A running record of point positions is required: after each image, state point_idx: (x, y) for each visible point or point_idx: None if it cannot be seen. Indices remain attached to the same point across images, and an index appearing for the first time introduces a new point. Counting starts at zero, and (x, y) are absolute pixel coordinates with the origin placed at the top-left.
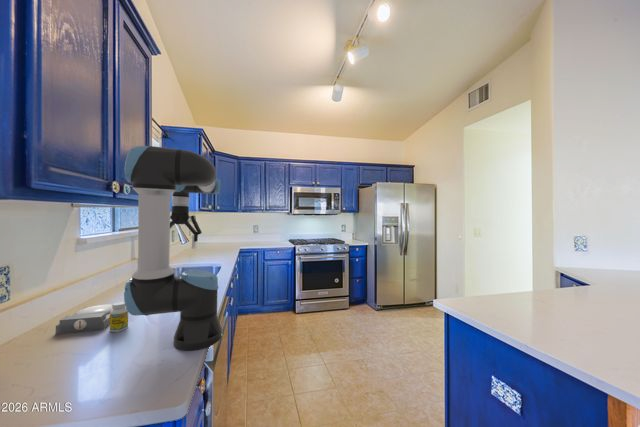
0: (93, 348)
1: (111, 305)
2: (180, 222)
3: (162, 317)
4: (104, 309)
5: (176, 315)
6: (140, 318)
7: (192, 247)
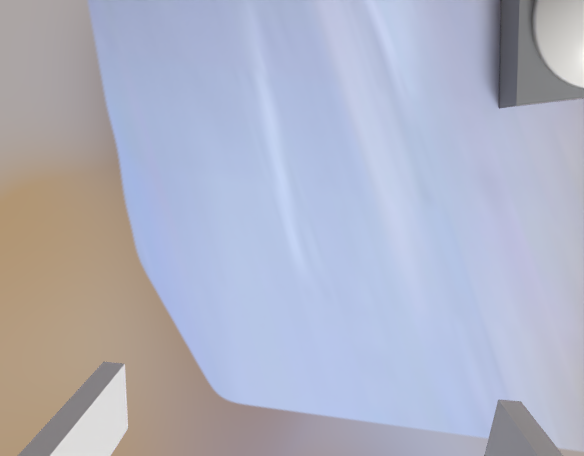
0: None
1: (570, 68)
2: None
3: (303, 4)
4: (582, 5)
5: (250, 23)
6: (395, 5)
7: (108, 372)
